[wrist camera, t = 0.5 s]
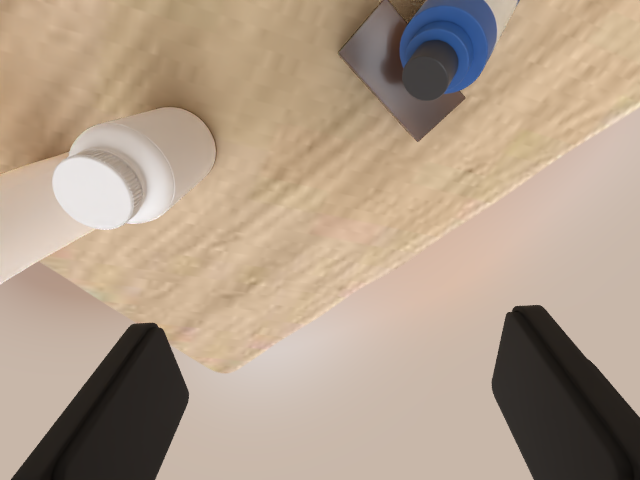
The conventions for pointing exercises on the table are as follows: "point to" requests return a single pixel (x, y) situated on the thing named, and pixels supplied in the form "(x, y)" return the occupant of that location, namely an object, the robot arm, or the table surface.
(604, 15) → the table surface
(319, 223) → the table surface
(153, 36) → the table surface
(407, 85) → the bottle
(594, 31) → the table surface
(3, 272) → the spray can
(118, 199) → the pill bottle
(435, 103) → the block
